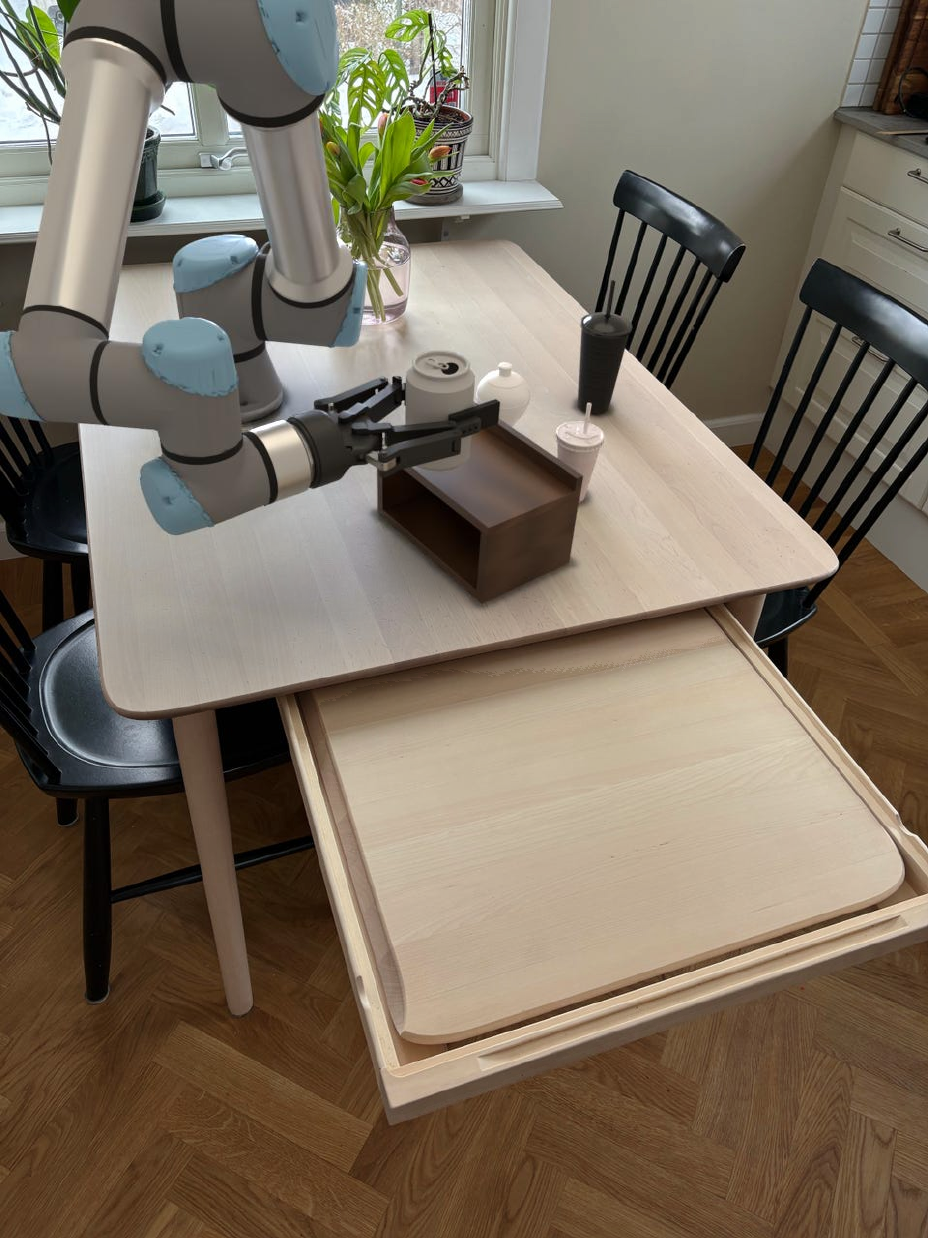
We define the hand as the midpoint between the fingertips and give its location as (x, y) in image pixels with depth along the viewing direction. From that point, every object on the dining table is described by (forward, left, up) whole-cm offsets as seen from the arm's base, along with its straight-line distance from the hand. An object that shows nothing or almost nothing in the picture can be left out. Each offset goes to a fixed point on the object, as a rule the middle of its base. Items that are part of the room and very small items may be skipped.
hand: (474, 395), depth 108 cm
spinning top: (-25, -2, -21) cm, 32 cm away
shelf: (-1, +1, -20) cm, 20 cm away
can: (+4, -3, -7) cm, 8 cm away
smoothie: (-15, +11, -21) cm, 28 cm away
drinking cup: (-40, +9, -21) cm, 46 cm away
